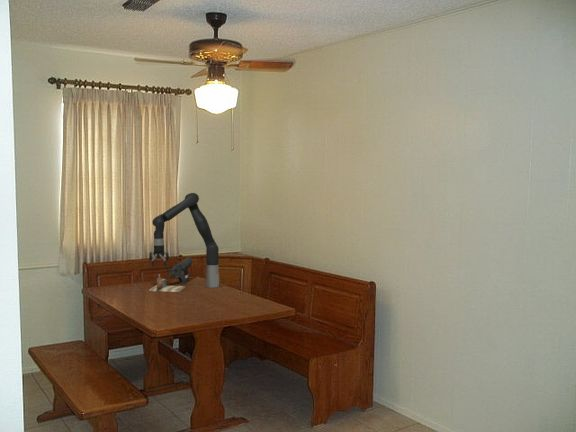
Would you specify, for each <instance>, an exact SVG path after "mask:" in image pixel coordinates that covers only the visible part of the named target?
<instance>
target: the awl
mask: <svg viewBox="0 0 576 432" xmlns="http://www.w3.org/2000/svg"><path fill="white" fill-rule="evenodd" d="M162 279H163V278H162V277H161V274H160V273H158V277H157V278H156V285H157V289H162Z"/></svg>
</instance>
